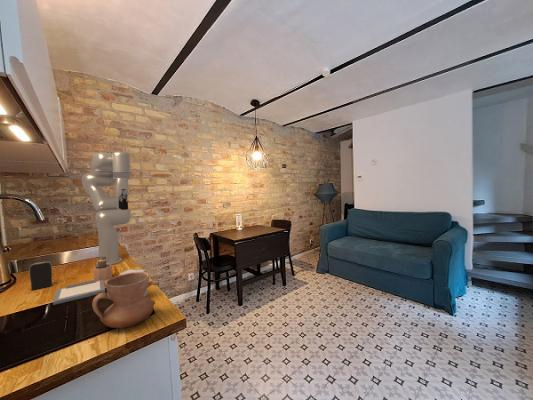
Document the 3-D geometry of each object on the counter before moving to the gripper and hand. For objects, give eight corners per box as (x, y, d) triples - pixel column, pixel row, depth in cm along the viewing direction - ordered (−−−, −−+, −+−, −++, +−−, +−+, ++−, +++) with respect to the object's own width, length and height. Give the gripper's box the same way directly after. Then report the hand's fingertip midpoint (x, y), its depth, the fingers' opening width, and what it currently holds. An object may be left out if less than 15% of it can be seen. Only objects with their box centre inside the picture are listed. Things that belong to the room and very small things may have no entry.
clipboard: (57, 291, 96) (57, 287, 96) (103, 281, 105) (103, 278, 105) (53, 305, 85) (52, 300, 84) (105, 292, 94) (104, 288, 94)
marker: (98, 277, 110) (97, 257, 109) (107, 275, 112) (106, 256, 111) (98, 279, 107) (97, 259, 106) (107, 277, 109) (106, 257, 108)
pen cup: (94, 278, 110) (93, 266, 110) (111, 274, 114) (110, 263, 114) (94, 282, 104) (93, 270, 104) (112, 279, 109) (111, 266, 108)
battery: (53, 283, 104) (51, 259, 104) (52, 286, 101) (51, 261, 101) (31, 288, 100) (29, 263, 99) (30, 291, 97) (28, 265, 96)
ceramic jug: (153, 303, 85) (152, 266, 84) (162, 320, 73) (160, 278, 73) (94, 320, 74) (92, 278, 74) (93, 344, 63) (90, 294, 62)
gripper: (111, 177, 121) (113, 208, 122) (114, 175, 107) (116, 210, 108) (128, 177, 125) (129, 207, 126) (132, 175, 112) (134, 209, 113)
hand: (123, 209), depth 117 cm, fingers open, 9 cm apart
